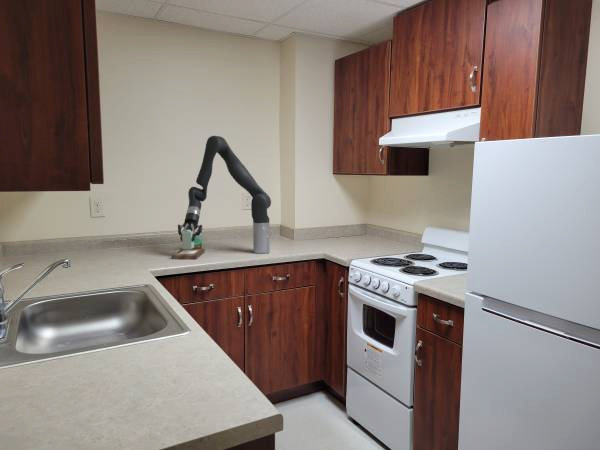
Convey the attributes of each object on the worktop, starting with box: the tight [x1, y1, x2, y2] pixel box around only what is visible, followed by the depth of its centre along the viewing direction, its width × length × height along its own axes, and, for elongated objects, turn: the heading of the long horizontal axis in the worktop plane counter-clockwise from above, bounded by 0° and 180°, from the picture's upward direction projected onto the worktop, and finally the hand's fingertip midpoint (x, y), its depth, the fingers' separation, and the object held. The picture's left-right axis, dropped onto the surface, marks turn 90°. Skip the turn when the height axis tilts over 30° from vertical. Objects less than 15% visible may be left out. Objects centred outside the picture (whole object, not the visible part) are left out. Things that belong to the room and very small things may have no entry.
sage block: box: [181, 230, 194, 249], centre depth 245 cm, size 5×5×10 cm
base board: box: [171, 248, 206, 260], centre depth 246 cm, size 13×18×2 cm
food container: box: [192, 230, 204, 249], centre depth 263 cm, size 12×6×10 cm, turn 143°
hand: (187, 240), depth 243 cm, fingers closed on sage block, 5 cm apart
